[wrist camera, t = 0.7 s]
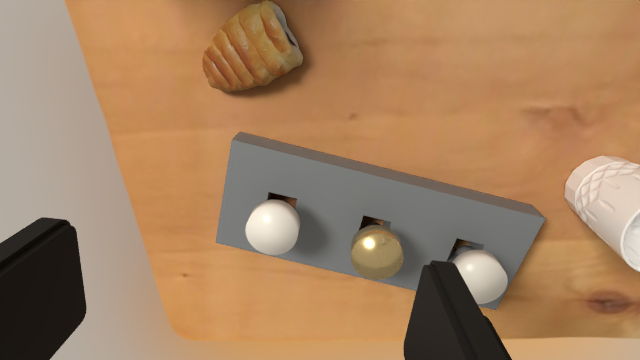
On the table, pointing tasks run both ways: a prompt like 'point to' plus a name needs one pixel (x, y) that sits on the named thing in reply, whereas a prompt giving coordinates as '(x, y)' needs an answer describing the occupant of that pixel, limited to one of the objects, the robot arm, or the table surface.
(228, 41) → the pastry
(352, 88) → the table surface
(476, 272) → the white knob
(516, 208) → the knob mount
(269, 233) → the white knob
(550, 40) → the table surface
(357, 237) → the brass knob
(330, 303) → the table surface
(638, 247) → the white cup
